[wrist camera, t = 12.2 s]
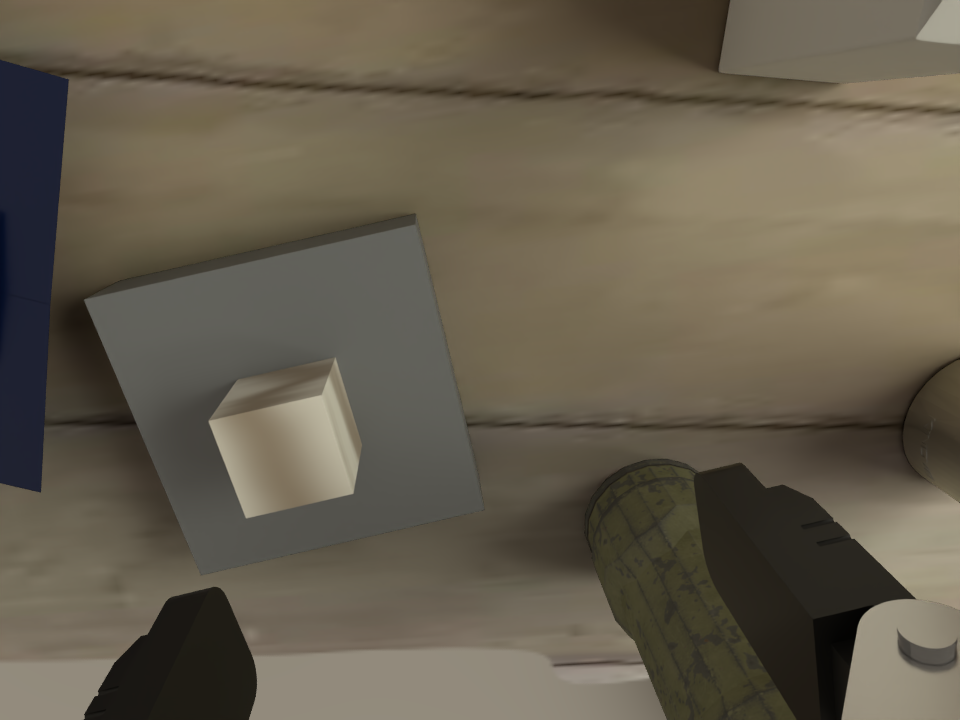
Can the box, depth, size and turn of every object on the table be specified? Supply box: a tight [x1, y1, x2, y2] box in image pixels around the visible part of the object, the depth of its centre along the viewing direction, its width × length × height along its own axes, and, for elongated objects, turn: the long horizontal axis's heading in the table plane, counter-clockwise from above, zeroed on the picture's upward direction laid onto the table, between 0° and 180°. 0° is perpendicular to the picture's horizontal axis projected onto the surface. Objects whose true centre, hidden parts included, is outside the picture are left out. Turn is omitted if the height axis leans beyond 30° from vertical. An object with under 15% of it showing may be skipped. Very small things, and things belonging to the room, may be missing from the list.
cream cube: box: [209, 357, 362, 518], centre depth 33 cm, size 5×5×5 cm
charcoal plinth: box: [84, 214, 484, 575], centre depth 37 cm, size 16×16×4 cm
